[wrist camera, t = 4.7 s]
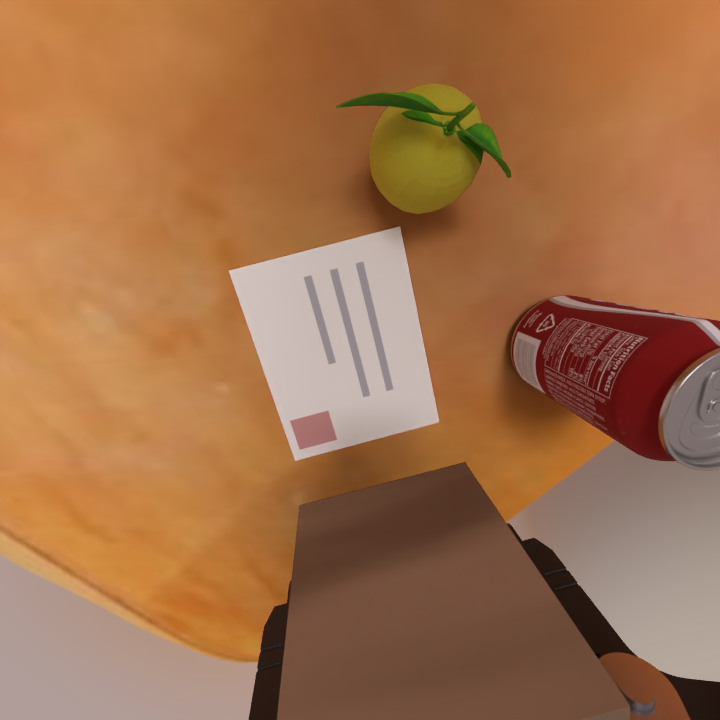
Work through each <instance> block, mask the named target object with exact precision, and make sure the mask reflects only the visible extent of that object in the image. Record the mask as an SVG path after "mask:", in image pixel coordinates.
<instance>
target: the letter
mask: <svg viewBox="0 0 720 720" xmlns="http://www.w3.org/2000/svg"><path fill="white" fill-rule="evenodd" d="M229 273H230V276H231V279H232V282H233V285H234V288H235V290H236V293H237V296H238V299H239V302H240V305H241V308H242V310H243V313H244V316H245V319H246V322H247V325H248V328H249V330H250V333H251V336H252V339H253V342H254V345H255V348H256V351H257V353H258V356H259V359H260V362H261V365H262V368H263V371H264V373H265V376H266V379H267V382H268V385H269V388H270V391H271V393H272V396H273V399H274V402H275V405H276V408H277V411H278V413H279V416H280V419H281V422H282V425H283V428H284V431H285V434H286V436H287V439H288V442H289V445H290V448H291V451H292V454H293V456H294V459H295V461H297V460H301V459H304V458H308V457H312V456H315V455H319V454H323V453H327V452H330V451H334V450H338V449H342V448H345V447H349V446H353V445H356V444H360V443H364V442H368V441H371V440H375V439H379V438H383V437H386V436H390V435H394V434H397V433H401V432H405V431H409V430H412V429H416V428H420V427H423V426H427V425H431V424H435V423H438V422H439V418H438V413H437V408H436V403H435V398H434V393H433V388H432V383H431V378H430V373H429V368H428V363H427V358H426V353H425V348H424V343H423V338H422V333H421V328H420V323H419V318H418V313H417V308H416V303H415V298H414V293H413V288H412V283H411V278H410V273H409V268H408V263H407V258H406V253H405V248H404V243H403V238H402V233H401V228H400V226H399V227H395V228H391V229H387V230H384V231H380V232H376V233H372V234H368V235H364V236H361V237H357V238H353V239H349V240H345V241H341V242H337V243H334V244H330V245H326V246H322V247H318V248H314V249H310V250H307V251H303V252H299V253H295V254H291V255H287V256H283V257H280V258H276V259H272V260H268V261H264V262H260V263H257V264H253V265H249V266H245V267H241V268H237V269H233V270H230V271H229Z"/></svg>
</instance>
